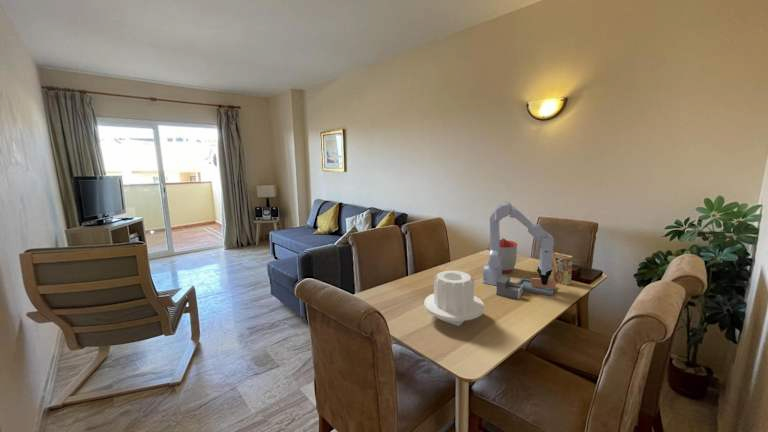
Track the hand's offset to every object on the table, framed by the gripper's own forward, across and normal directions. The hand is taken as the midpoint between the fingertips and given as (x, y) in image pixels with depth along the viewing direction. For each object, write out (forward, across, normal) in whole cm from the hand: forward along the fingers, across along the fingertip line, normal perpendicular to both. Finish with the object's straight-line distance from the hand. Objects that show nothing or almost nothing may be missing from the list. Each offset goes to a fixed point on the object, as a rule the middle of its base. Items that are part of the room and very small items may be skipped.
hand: (544, 283), depth 159 cm
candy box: (+3, +15, -6) cm, 17 cm away
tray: (+3, 0, +4) cm, 5 cm away
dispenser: (+3, -13, +14) cm, 19 cm away
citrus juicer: (+3, +18, +26) cm, 32 cm away
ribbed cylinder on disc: (+3, -50, +29) cm, 58 cm away
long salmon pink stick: (+2, 0, 0) cm, 2 cm away
